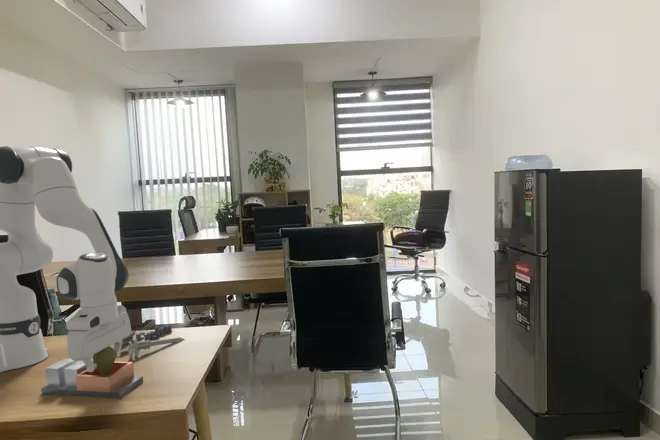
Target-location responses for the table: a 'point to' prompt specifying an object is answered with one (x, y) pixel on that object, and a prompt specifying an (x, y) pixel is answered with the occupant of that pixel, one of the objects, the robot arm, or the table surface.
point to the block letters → (146, 335)
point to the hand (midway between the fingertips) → (104, 363)
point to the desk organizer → (89, 380)
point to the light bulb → (105, 360)
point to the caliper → (148, 345)
